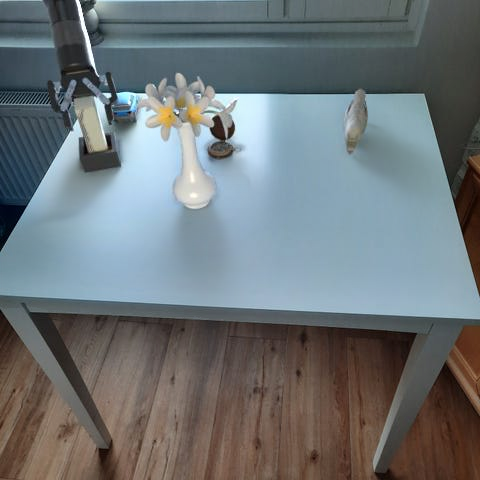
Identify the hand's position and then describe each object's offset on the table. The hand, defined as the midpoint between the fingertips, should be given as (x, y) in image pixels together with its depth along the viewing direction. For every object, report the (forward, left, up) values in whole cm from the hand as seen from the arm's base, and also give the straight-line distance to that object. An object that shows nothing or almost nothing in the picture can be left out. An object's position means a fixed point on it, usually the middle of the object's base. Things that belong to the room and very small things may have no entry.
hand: (91, 127), depth 104 cm
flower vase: (+20, -20, -9) cm, 30 cm away
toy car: (+8, +20, -9) cm, 23 cm away
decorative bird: (+60, -7, -9) cm, 61 cm away
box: (0, +2, -8) cm, 8 cm away
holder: (0, +1, -9) cm, 9 cm away
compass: (+29, -4, -9) cm, 31 cm away
